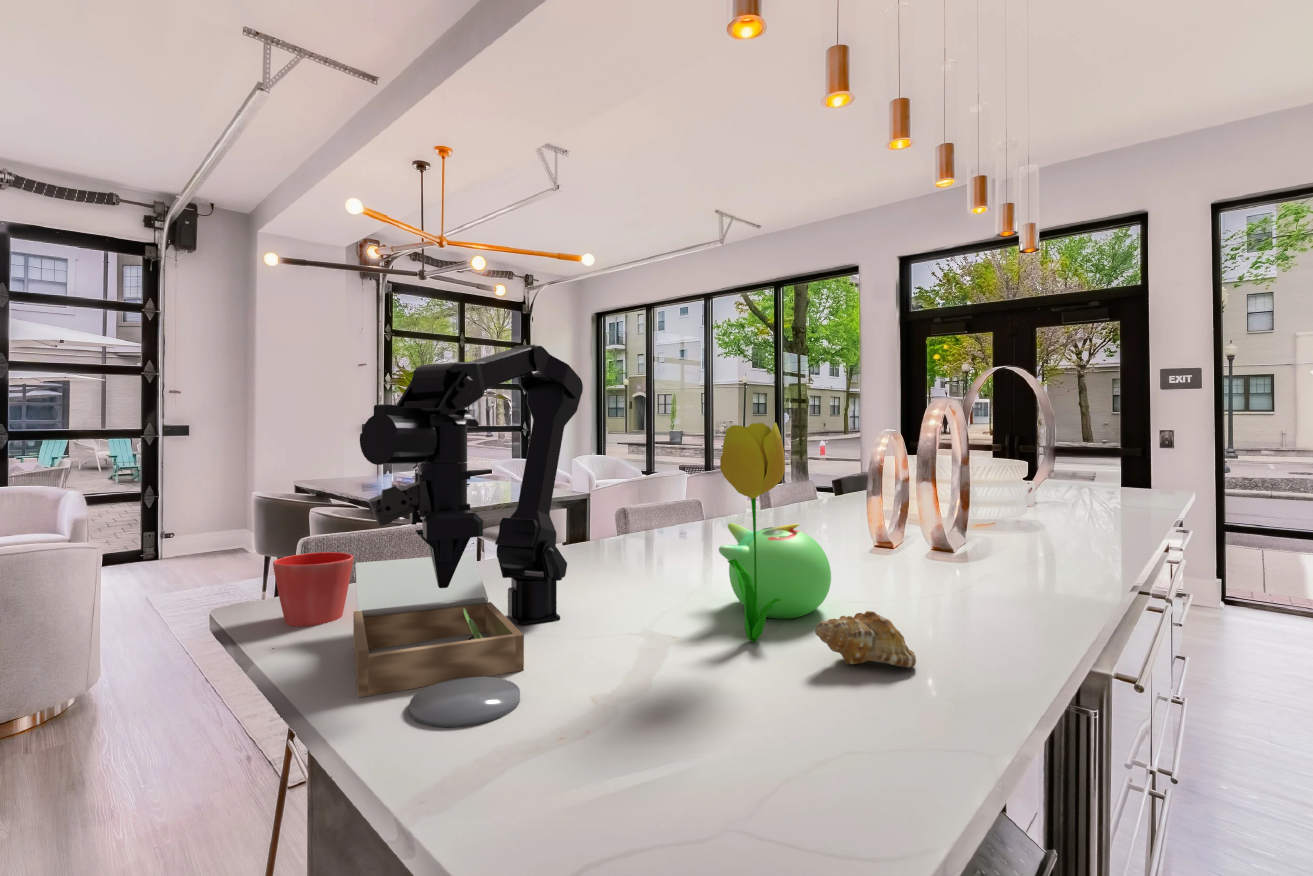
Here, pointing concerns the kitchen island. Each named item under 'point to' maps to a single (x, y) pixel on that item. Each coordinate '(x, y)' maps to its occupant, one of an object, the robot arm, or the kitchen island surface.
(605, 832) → the kitchen island surface
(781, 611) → the round green toy
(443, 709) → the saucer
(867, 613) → the seashell
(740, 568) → the flower
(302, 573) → the flower pot
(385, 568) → the lid
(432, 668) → the box
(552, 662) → the kitchen island surface
